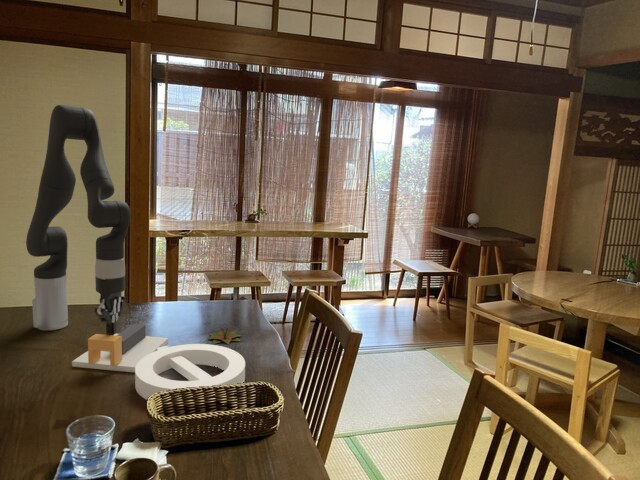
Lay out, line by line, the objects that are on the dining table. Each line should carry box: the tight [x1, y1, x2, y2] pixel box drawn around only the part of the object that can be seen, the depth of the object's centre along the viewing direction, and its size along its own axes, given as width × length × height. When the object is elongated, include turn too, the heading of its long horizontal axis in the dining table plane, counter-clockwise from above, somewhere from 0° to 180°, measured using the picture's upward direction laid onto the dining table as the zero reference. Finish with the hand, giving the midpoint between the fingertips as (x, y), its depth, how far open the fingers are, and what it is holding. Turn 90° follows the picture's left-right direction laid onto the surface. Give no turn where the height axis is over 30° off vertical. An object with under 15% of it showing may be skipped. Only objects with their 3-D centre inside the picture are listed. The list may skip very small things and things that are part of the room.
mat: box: [71, 332, 169, 373], centre depth 144 cm, size 18×22×2 cm
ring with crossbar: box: [134, 343, 246, 401], centre depth 130 cm, size 28×28×5 cm
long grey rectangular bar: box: [117, 323, 146, 355], centre depth 146 cm, size 4×14×4 cm, turn 174°
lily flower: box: [208, 324, 242, 345], centre depth 160 cm, size 12×12×5 cm
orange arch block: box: [87, 333, 122, 366], centre depth 133 cm, size 7×4×7 cm, turn 84°
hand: (111, 334), depth 136 cm, fingers closed
